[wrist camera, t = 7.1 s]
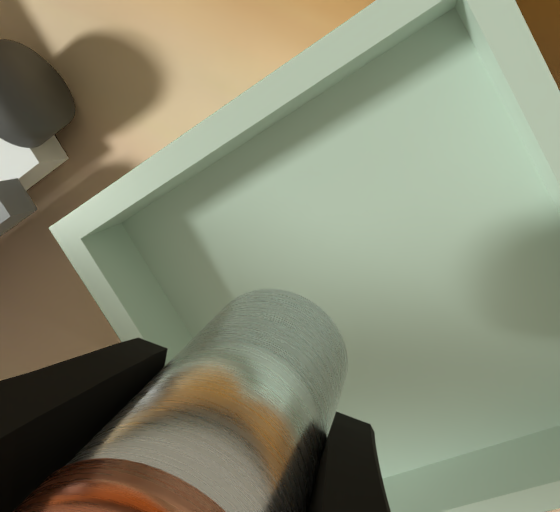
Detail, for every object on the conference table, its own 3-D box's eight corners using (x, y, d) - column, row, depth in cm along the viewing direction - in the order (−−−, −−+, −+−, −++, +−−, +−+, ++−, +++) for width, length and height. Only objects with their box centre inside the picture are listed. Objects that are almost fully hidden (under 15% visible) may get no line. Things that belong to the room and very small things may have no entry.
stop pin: (379, 390, 11) (308, 819, 4) (257, 439, 12) (59, 830, 6) (298, 260, 10) (91, 511, 4) (181, 325, 12) (-124, 597, 5)
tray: (682, 396, 15) (742, 464, 12) (293, 511, 20) (272, 577, 17) (467, -35, 13) (479, -72, 10) (105, 209, 18) (48, 227, 15)
